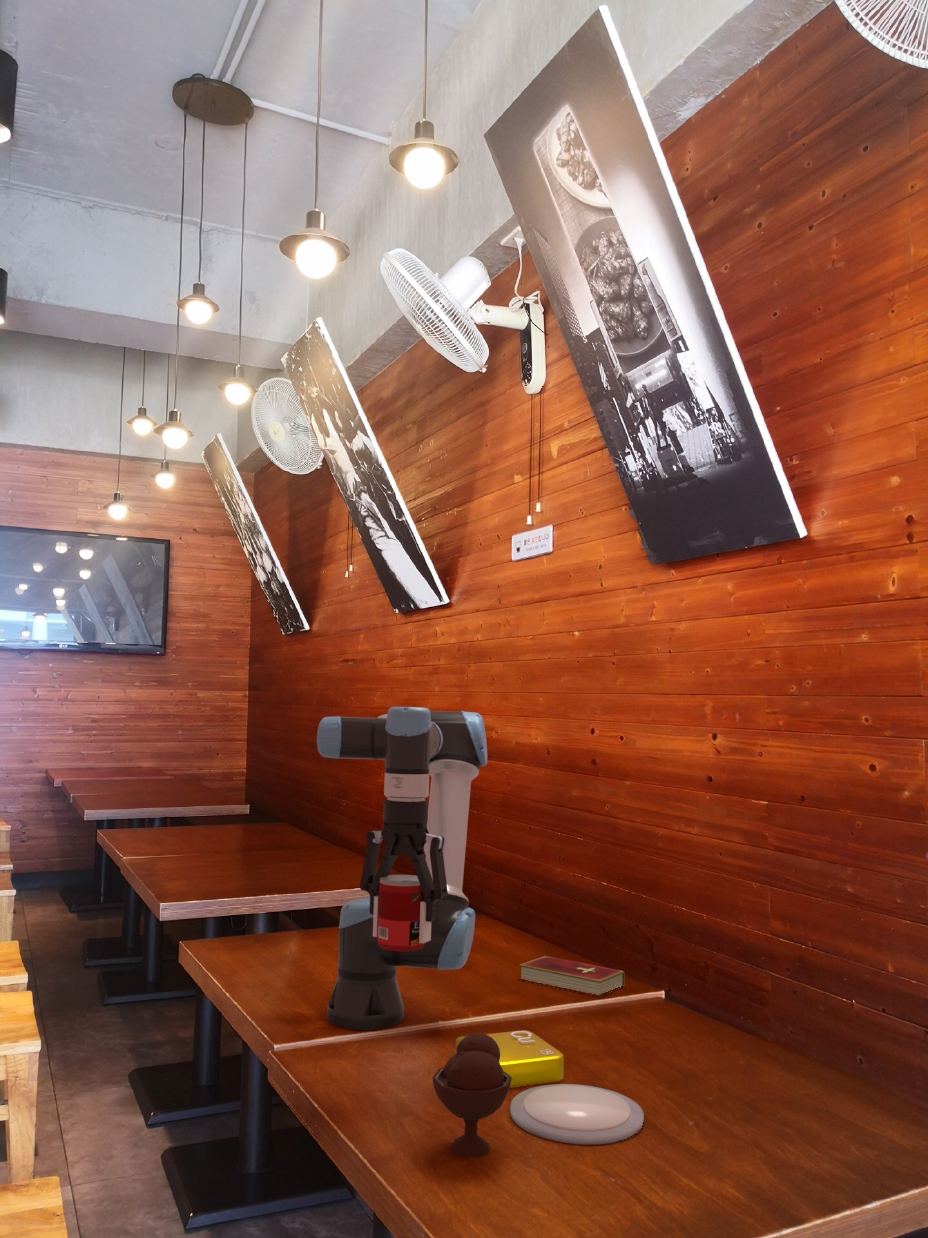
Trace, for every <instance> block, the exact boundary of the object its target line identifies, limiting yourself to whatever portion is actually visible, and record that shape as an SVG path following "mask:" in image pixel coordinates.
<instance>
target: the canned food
mask: <svg viewBox="0 0 928 1238" xmlns="http://www.w3.org/2000/svg"><path fill="white" fill-rule="evenodd" d="M423 900H425V898H424V895H423V892H422V889H421V886H420V882H419V880H418V877H417V875H415V874H413V875H412V874H391V875H390V874H389V875H388V876H386V877H381V878H380V884H379V912H378V944H379V946H380V947H381V948H383V949H386V950H391V951H415V950H419V949H421V948H423V947H424V944H425V943H419V931H420V902H421V901H423Z"/></svg>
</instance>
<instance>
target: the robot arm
mask: <svg viewBox="0 0 928 1238" xmlns="http://www.w3.org/2000/svg"><path fill="white" fill-rule="evenodd" d="M316 731H317V732H316V733H317V734H316V746H317V751H318V753H319V755H320V756H321V757H323V758H328V759H330V758H331V759H335V760H339V759H340V760H341V759H342V760H343V759H345V760H346V759H347V760H349V759H351V760H377V761H378V760H380V761H381V760H382V761H385V763H384V768H385V769H384V783H383V784H384V786H383V787H384V788H383V792H384V793H383V796H385V797H386V798H387V799H385V800H384V801H383V810H382V811H383V812H382V814H383V815H382V820H383V826H382V829H381V830H377V829H376V830H370V831H367V832H366V835H365V836H366V845H367V846H366V849H365V850H366V851H365V855H364V861H363V867H362V872H361V878H360V883H359V889H360V890H361V891H364V892H367V893H368V894H369V896H365V897H360V898H359V897H358V898H355V899H353V900H350V901H347V902H345V903H344V905H343V906H342V907H341V910H340V916H339V925H338V957H337V959H338V960H337V979H336V982H335V984H334V986H333V989H332V992H331V995H330V999H329V1002H328V1004H327V1007H326V1008H327V1011H326V1014H327V1015H326V1019H327V1021H328V1023H330V1024H331V1025H334V1026H336V1027H340V1028H344V1029H348V1030H349V1029H351V1030H358V1031H359V1030H365V1031H368V1030H380V1029H386V1028H387V1029H388V1028H391V1027H394V1026H397V1025H399V1024H401V1023H402V1022H403V1021H404V1016H405V1006H404V1002H403V999H402V995H401V992H400V988H399V984H398V979H397V967H405V968H419V969H420V968H423V969H436V970H439V971H443V970H459V969H461V968H463V967H464V965H465V964H466V963H467V962H468V958H469V955H470V953H471V949H472V944H473V940H474V935H475V925H476V924H475V922H476V912H475V910H474V909H473V908H471V907H469V898H468V897H467V896H466V895H465V893H464V892H463V884H464V872H465V871H464V870H465V861H466V859H465V858H466V850H467V849H466V846H467V837H468V836H467V835H468V823H469V810H470V801H471V800H470V799H471V786H472V781H473V780H474V779H476V778H477V777H478V776H479V774H480V767H484V766H487V764H488V745H487V736H486V734H487V733H486V728H485V722H484V718H483V715H481V714H480V713H479V712H474V711H472V712H471V711H464V710H460V711H452V710H450V711H448V710H430V708H427V707H420V706H418V707H416V706H414V707H413V706H391V707H389V709H388V711H387V713H385V714H382V715H379V716H377V717H364V716H363V717H360V716H341V715H336V716H325V717H323V718H321V720H320V722H319V723H318V727H317V730H316ZM430 777H431V779H430ZM426 798H428V801H427V800H426ZM382 841H384V843H385V844H386V846H385V848H384V851H383V853H382V858H381V862H380V863H379V865H378V861H379V855H380V851H381V843H382ZM399 856H404V857H408V858H409V861H410V862H411V863H412V864H413V865H412V866H413V868H414V870H415V874H416V876H417V877H418V880H419V882H420V886H421V889H422V892H423V895H424V898H425V900H423V901H421V902H420V931H419V943H425V944H424V947H423V948H421V949H419V950H415V951H391V950H386V949H383V948H381V947H380V946H379V944H378V912H379V884H380V878H381V877H386V876H388V875H390V873H391V872H392V868H393V866H394V864H395V862H396V860H397V859H398V857H399ZM377 865H378V868H377Z"/></svg>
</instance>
